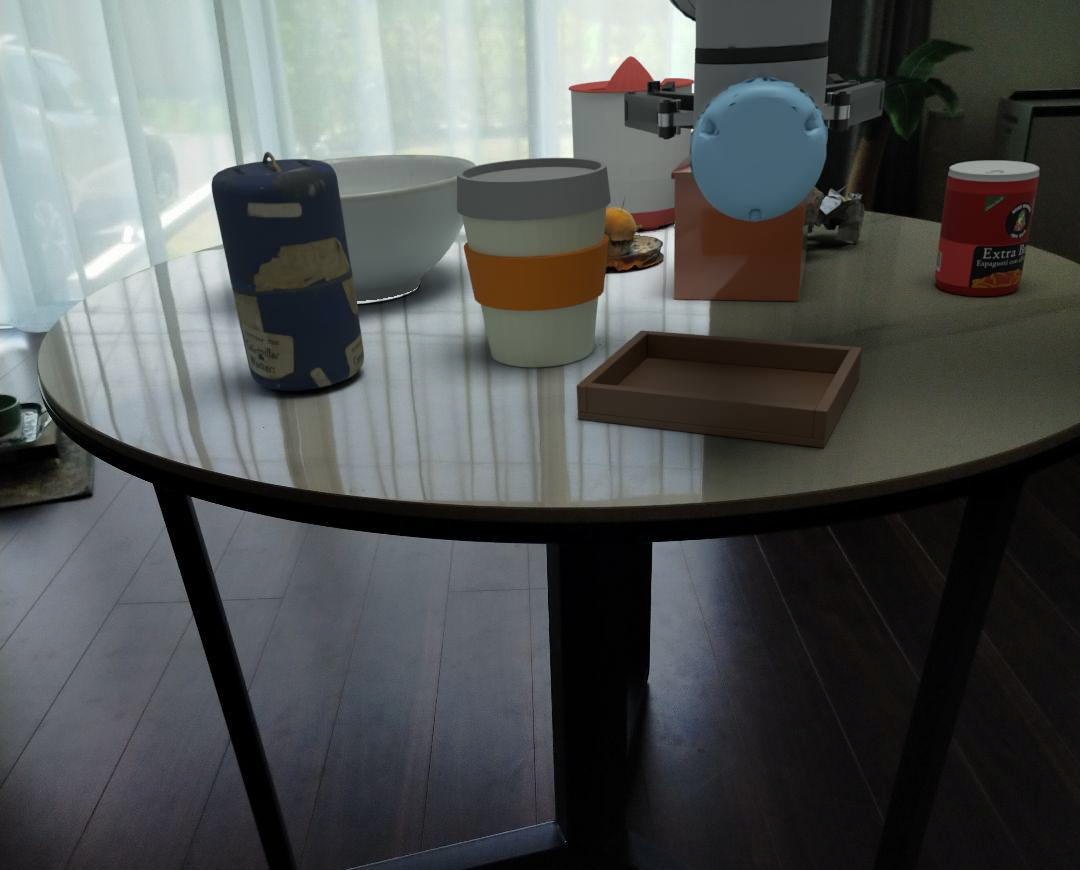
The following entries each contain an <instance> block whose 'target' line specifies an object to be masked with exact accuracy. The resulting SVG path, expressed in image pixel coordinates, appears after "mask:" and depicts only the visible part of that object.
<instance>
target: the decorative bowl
mask: <svg viewBox="0 0 1080 870" xmlns="http://www.w3.org/2000/svg"><path fill="white" fill-rule="evenodd" d="M317 160H318V161H322V162H325V163H327V164H329V165H330V166H331V167H332V168H333V169H334V171H335V173H336V176H337V180H338V187H339V194H340V200H341V206H342V212H343V219H344V226H345V232H346V239H347V246H348V252H349V258H350V264H351V269H352V274H353V280H354V286H355V293H356V299H357V301H366V300H377V299H383V298H388V297H394V296H397V295H401V294H404V293H407V292H410V291H413V290H414V289H416V288H417V287H419V285H420V286H421V277H422V276H423V275H425V274H426V273H427V272H429V271H430V270H431V269H432V268H433V267H435V266H437V264H438V263H439V262H440V261H441V260H442V259H443V257H445V255H446V254H447V253H448V251H449V250H450V249H451V247H452V246H453V244H454V242H455V241H456V240H457V237H458V236H459V234H460V233H461V230H462V228H463V227H464V223H463V219H462V215H461V214H459V213H458V212H457V174H458V172H460V171H462V170H463V169H467V168H470V167H473V166H477V165H476V163H474V162H473V161H471V160H469V159H466V158H461V157H458V156H457V157H456V156H448V155H437V154H382V155H380V154H379V155H363V156H362V155H361V156H348V157H347V156H346V157H336V158H328V159H327V158H326V159H317ZM419 288H420V287H419Z"/></svg>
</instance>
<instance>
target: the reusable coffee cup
mask: <svg viewBox="0 0 1080 870" xmlns="http://www.w3.org/2000/svg"><path fill="white" fill-rule="evenodd" d="M610 202H611V197H610V189H609V181H608V173H607V165H606V163H604V162H602V161H598V160H592V159H583V158H573V157H536V158H535V157H534V158H522V159H519V158H518V159H511V160H510V159H509V160H501V161H494V162H488V163H483V164H478V165H476V166H473V167H470V168H467V169H463V170H462V171H460V172H458V174H457V212H458V213H459V214H461V215H462V219H463V223H464V224H463V228H464V232H465V237H466V241H467V242H465V243H464V245H463V251H464V256H465V261H466V265H467V270H468V274H469V279H470V285H471V289H472V293H473V297H474V300H475V302H477V303H478V304H479V305H480V308H481V312H482V316H483V317H482V318H483V321H484V326H485V331H486V335H487V340H488V344H489V349H490V354H491V357H492V358H493V360H494V361H497V362H499V363H501V364H504V365H507V366H511V367H520V368H547V367H557V366H558V367H559V366H562V365H563V366H565V365H567V364H572V363H576V362H579V361H581V360H584V359H585V358H587V357H588V356H590V355H591V354H592V353H593V352H594V345H595V338H596V337H595V336H596V326H597V313H598V304H599V297H601V296H602V294H604V291H605V281H606V272H607V271H606V270H607V267H606V261H607V251H608V241H609V237H608V236H607V235H606V234H605V233H604V230H605V219H606V208H607V205H609V204H610Z"/></svg>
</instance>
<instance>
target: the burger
mask: <svg viewBox="0 0 1080 870" xmlns="http://www.w3.org/2000/svg"><path fill="white" fill-rule="evenodd" d="M624 201H625V198H624ZM623 206H624V202H623ZM623 206H622V208H623ZM641 227H642V225H640V226H637V225H636V223H635V221H634V219H633V217H632V215H631V214H630V213H629V212H627V211H626V210H623V209H621V208H617V207H611V208H607V209H606V219H605V230H604V233H605V234H606V235H607V236H608V237H609V241H608V251H607V261H606V268H607V267H610V268H612V267H614V268H615V269H616V270H617V271H619V272H620V271H622V270H625V271H627V270H630V269H631V268H633V267H634V266H636V267H637V269H641V268H645V267H649V266H653V265H655V264H657V263H659V262H660V261H662V260H663V259H664V258H665V255H664V254H663V253H662V252H661V251H662V247H663V246H664V242H663V240H660V239H659V238H657V237H655V236H648V235H640V234H636V233H637V232H638V231H639V229H638V228H641ZM641 229H642V228H641Z"/></svg>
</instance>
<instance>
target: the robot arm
mask: <svg viewBox="0 0 1080 870" xmlns="http://www.w3.org/2000/svg"><path fill="white" fill-rule="evenodd" d="M668 1H669V2H670V3H671V5H672V6H674V8H675V9H676V10H678V11H679V12H680V13H682V15H683V16H684V17H685V18H687V19H689V20H691V21H692V22H694V23H695V48H694V71H693V72H694V73H693V75H694V76H693V80H694V83H693V92H692V93H683V92H675V81H672V82H666V83H665V85H664V86H663V87H662V91H660V83H661V80H654V81H648V82H647V94H642V93H636V92H635V91H629V92H627V93H626V94H624V122H625V126H626V127H629V128H634V129H638V130H642V131H646V132H650V133H654V134H658V137H659V138H663V139H670V138H672V137H675V135H680V134H681V128H686V129H691V138H690V168H691V172H692V173H693V175H694V177H695V181H696V183H697V185H698V187H699V189H700V191H701V192H702V194H703V196H704V197H705V198H706V199H707V201H708V202H709V203H710V204H711V205H712V206H714V207H715V208H716V209H717V210H719V211H720V212H722V213H724V214H726V215H728V216H730V217H733V218H735V219H739V220H745V221H753V222H757V221H762V220H768V219H772V218H775V217H778V216H780V215H783V214H785V213H786V212H788V211H790V210H792V209H793V208H794V207H796V206H797V205H798V204H800V203H801V202H802V201H803V200H804V199H805V198H806V197H807V195H808V194H809V193H810V192H811V191H812V189H813V188H814V187H816V184H817V183H818V181H819V179H820V177H821V175H822V172H823V169H824V167H825V163H826V160H827V155H828V154H827V144H828V138H829V132H828V131H829V130H830V131H833V132H836V133H843V132H844V131H849V127H857V125H858V124H861V123H864V122H866V121H869V120H873V119H876V118H878V117H881V116H883V109H884V97H885V90H886V89H885V88H886V81H884V80H882V79H873V80H872V81H869V82H864V83H861V82H860V81H857V80H855V79H850V80H848V81H846V82H845V79H844V78H843V77H841V76H840V75H839V74H838V73H829V74H828V61H829V55H828V52H829V51H828V50H829V49H828V48H829V37H830V35H829V34H830V23H831V14H832V2H833V1H832V0H668Z"/></svg>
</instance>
